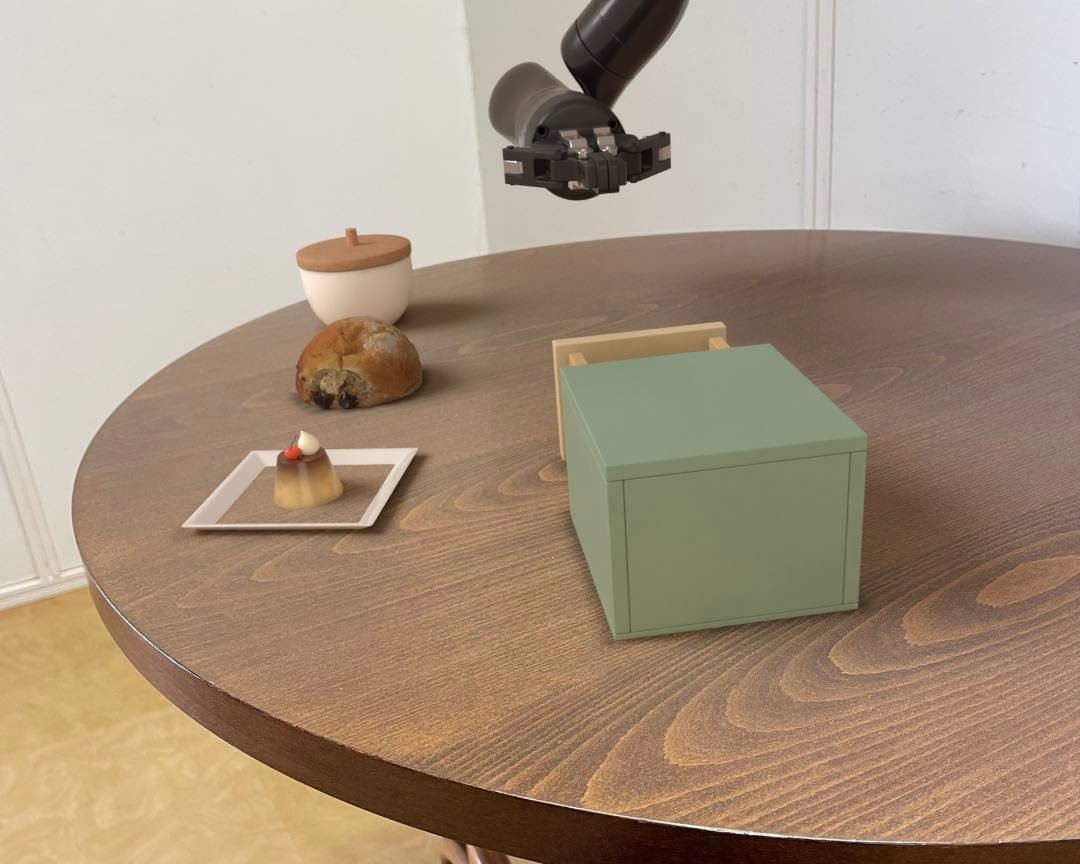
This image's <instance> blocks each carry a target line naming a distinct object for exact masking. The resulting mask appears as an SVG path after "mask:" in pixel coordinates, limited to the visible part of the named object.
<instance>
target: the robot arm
mask: <svg viewBox="0 0 1080 864" xmlns="http://www.w3.org/2000/svg"><path fill="white" fill-rule="evenodd" d="M690 2H691V0H590V1H589V3H588V4H587V5H586V6H585V7H584V9H583V10H582V11H581V12H580V14H578V16H577V17H576V18H575V19H574V21H573V22H572V24H571V25H570V26H569V27H568V28H567V30H566V31H565V33H564V34H563V36H562V38H561V42H560V44H559V45H560V47H559V52H560V56H561V59H562V62H563V64H564V66H565V68H566V70H567V71H568V73H570V75H571V76H572V78H573V79H574V80H575V82H576V83H577V85H578V86H579V88H580V89H581V91H582V92H581V91H578V90H573V89H571V88H570V87H569V86H567V85H566V84H564V83H563V82H562V81H561V80H560V79H559V78H557V77H556V76H555V75H554V74H552V73H551V72H550V71H549V70H548V69H547V68H545V67H544V66H543V65H541V64H540V63H538V62H536V61H524V62H521V63H518V64H516V65H514V66H512V67H511V68H509V69H508V70H507V71H505V72H504V73H503V74H502V76H501V77H500V78H499V79H498V80H497V82H496V84H495V85H494V87H493V89H492V91H491V93H490V97H489V101H488V107H487V115H488V116H487V117H488V121H489V124H490V126H491V128H492V129H493V130H494V131H495V132H496V133H497V134H499V135H500V136H501V137H502V138H504V139H505V140H506V141H508V142H509V143H511V145H507V146H506V147H503V148H502V149H501V151H502V161H503V162H502V165H503V175H504V184H505V185H509V186H520V187H521V186H522V187H532V188H541V189H545V190H547V191H548V192H549V193H550V194H552V195H553V196H555V197H558V198H560V199H563V200H567V201H574V202H579V201H580V202H581V201H586V200H587V201H588V200H591V199H593V198H596V197H598V196H600V195H608V194H617V193H618V194H619V193H620V188H621V186H622V187H623V186H624V187H625V186H626V185H628V183H630V184H637V183H638V182H641V181H644V180H646V179H648V178H651V177H654V176H656V175H658V174H661V173H664V172H666V171H668V170H671V169H672V141H671V132H666V131H658V132H657V133H654V134H651V135H643V136H642V138H640V139H639V137H638V136H637V135H636V134H631V133H627V132H626V131H625V128H624V126H623V124H622V122H621V120H620V119H619V117H618V116H617V115H616V113H615V112H614V111H613V108H614V107H615V105H616V104H617V102H618V100H619V99H620V98H621V96H622V95H623V93H624V92H625V90H626V89H627V88H628V86H630V84H631V83H632V82H633V80H634V79H635V78H636V77H637V76H638V75H639V74H640V73H641V71H643V69H644V68H645V67H646V66H647V65H648V64H649V63H650V61H651V60H652V59H653V58H654V57H655V56H656V55H657V54H658V53H659V51H660V50H661V49H662V48H663V47H664V46H665V45H666V43H667V42H668V41H669V39H670V38H671V37H672V36H673V34H674V32H675V31H676V30H677V28H678V27H679V25H680V23H681V21H682V19H683V18H684V15H685V13H686V11H687V9H688V6H689V4H690Z"/></svg>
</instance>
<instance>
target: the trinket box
mask: <svg viewBox="0 0 1080 864" xmlns="http://www.w3.org/2000/svg"><path fill="white" fill-rule="evenodd" d="M344 232H345V236H341V237H336V238H330V239H325V240H320V241H317V242H314V243H311V244H308V245H306V246H303V247H302V248H300V249H299V250H298V251H297V252H296V254H295V260H296V264H297V266H298V268H299V275H300V280H301V284H302V288H303V291H304V294H305V297H306V300H307V302H308V304H309V307H310V308H311V310H312V311H313V313H314V315H316V317H317V318H318V319H319V320H320V321H321V322H322V323H324V325H326V326H328V325H330V324H331V323H333V322H335V321H337V320H340V319H344V318H347V317H357V316H366V317H373V318H377V319H380V320H383V321H386V322H388V323H390V324H391V325H394V324H395V323H396V322H397V321H398V320H399V319H400V318H401V317H402V315H403V314H404V313H405V311H406V310H407V308H408V306H409V304H410V301H411V297H412V293H413V279H414V276H413V275H414V271H413V269H414V268H413V261H412V243H411V241H410V240H409V238H407V237H404V236H402V235H397V234H396V235H395V234H387V233H386V234H383V233H382V234H381V233H376V234H375V233H374V234H358V232H357V228H356V227H349V228H345V229H344Z"/></svg>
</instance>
